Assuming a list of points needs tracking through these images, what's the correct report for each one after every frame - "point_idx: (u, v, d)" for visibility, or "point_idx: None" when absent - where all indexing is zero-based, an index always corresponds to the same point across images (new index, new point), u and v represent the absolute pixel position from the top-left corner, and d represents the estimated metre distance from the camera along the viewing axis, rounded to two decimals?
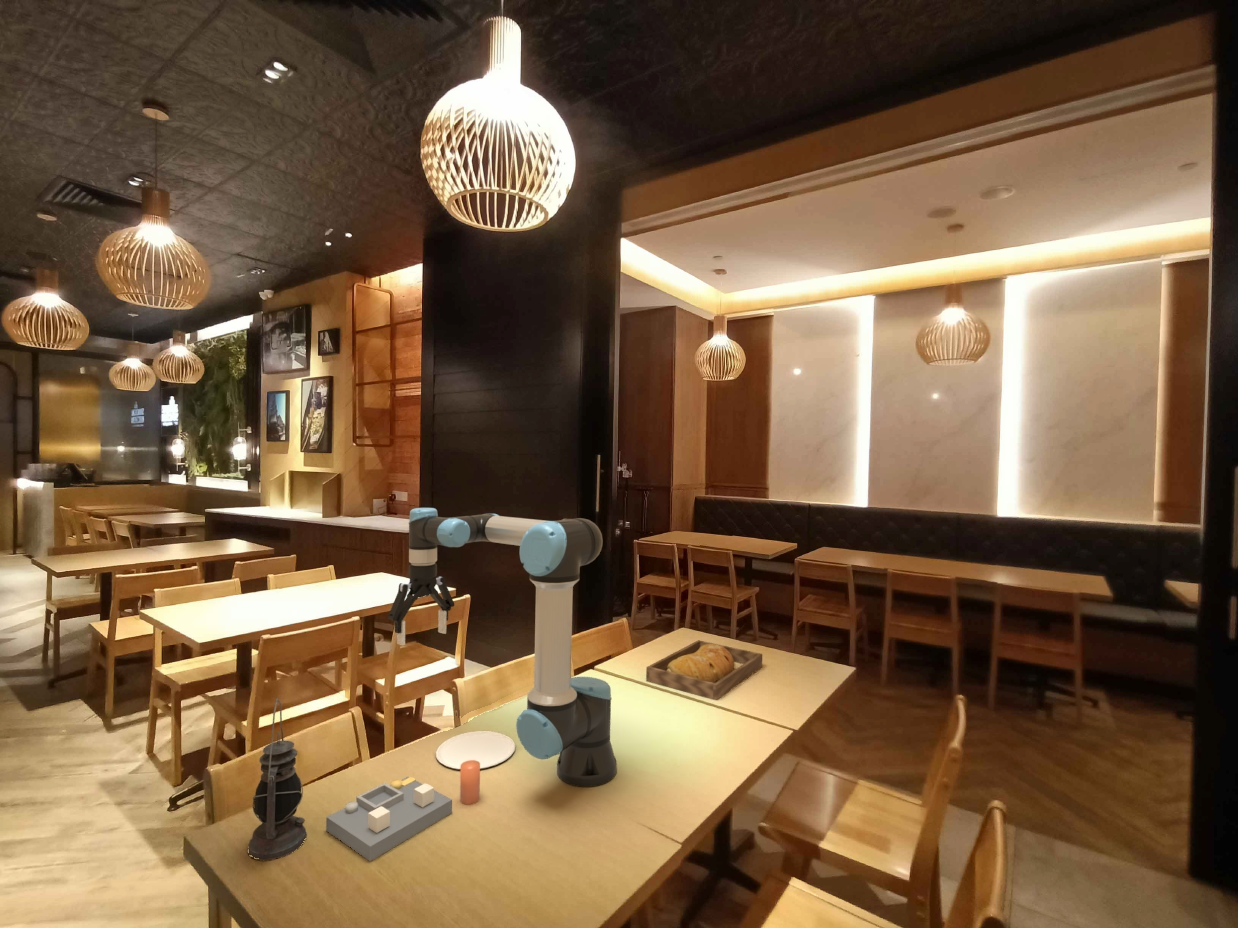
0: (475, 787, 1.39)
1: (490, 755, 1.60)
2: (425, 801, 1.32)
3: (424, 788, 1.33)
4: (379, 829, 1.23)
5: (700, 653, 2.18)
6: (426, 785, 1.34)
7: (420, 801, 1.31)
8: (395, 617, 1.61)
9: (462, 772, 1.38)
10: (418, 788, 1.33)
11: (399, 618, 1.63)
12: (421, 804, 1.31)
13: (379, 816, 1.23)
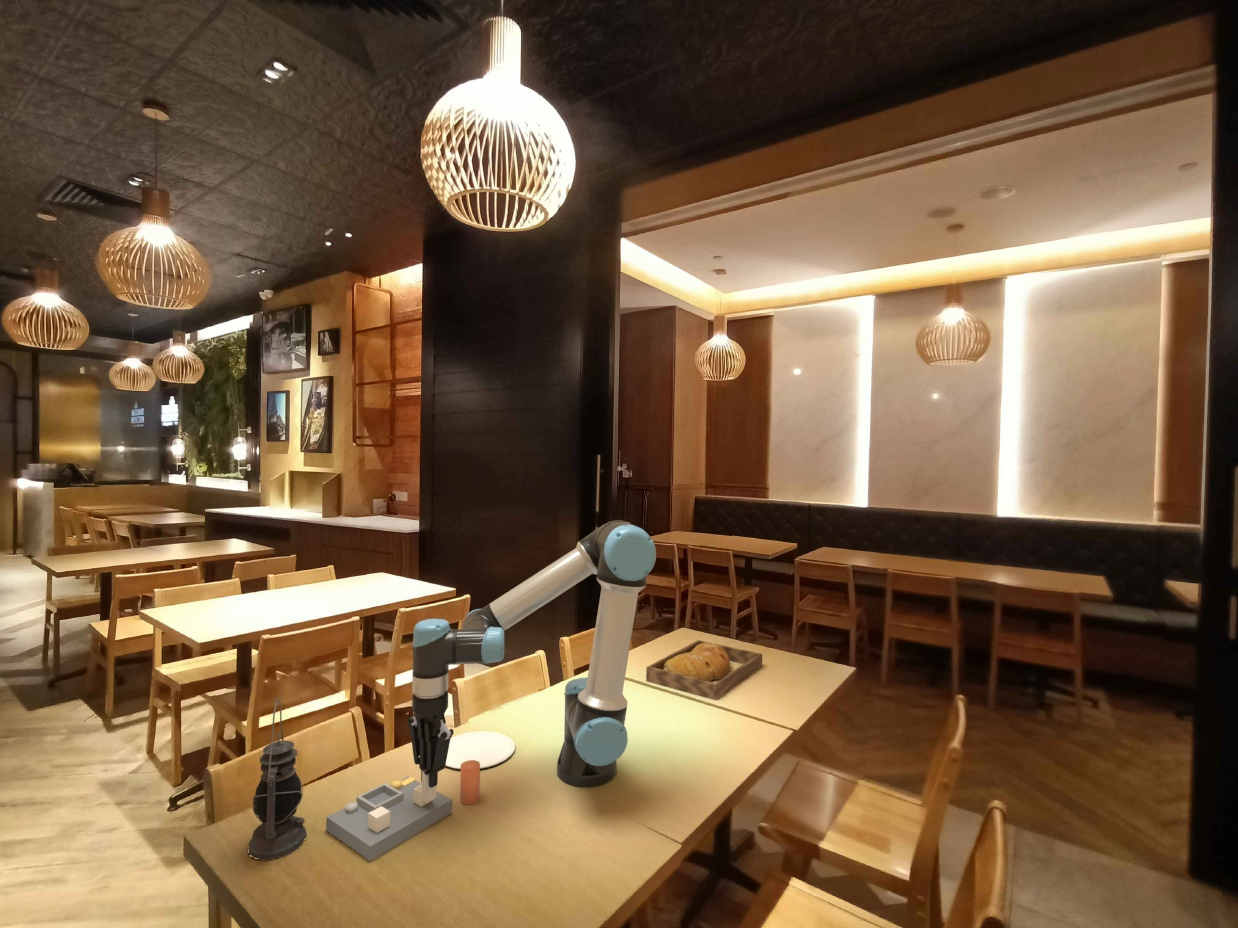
0: (475, 787, 1.39)
1: (490, 755, 1.60)
2: None
3: None
4: (379, 829, 1.23)
5: (696, 652, 2.20)
6: None
7: (419, 801, 1.32)
8: (415, 760, 1.33)
9: (462, 772, 1.38)
10: (417, 787, 1.33)
11: None
12: (420, 803, 1.31)
13: (379, 816, 1.23)
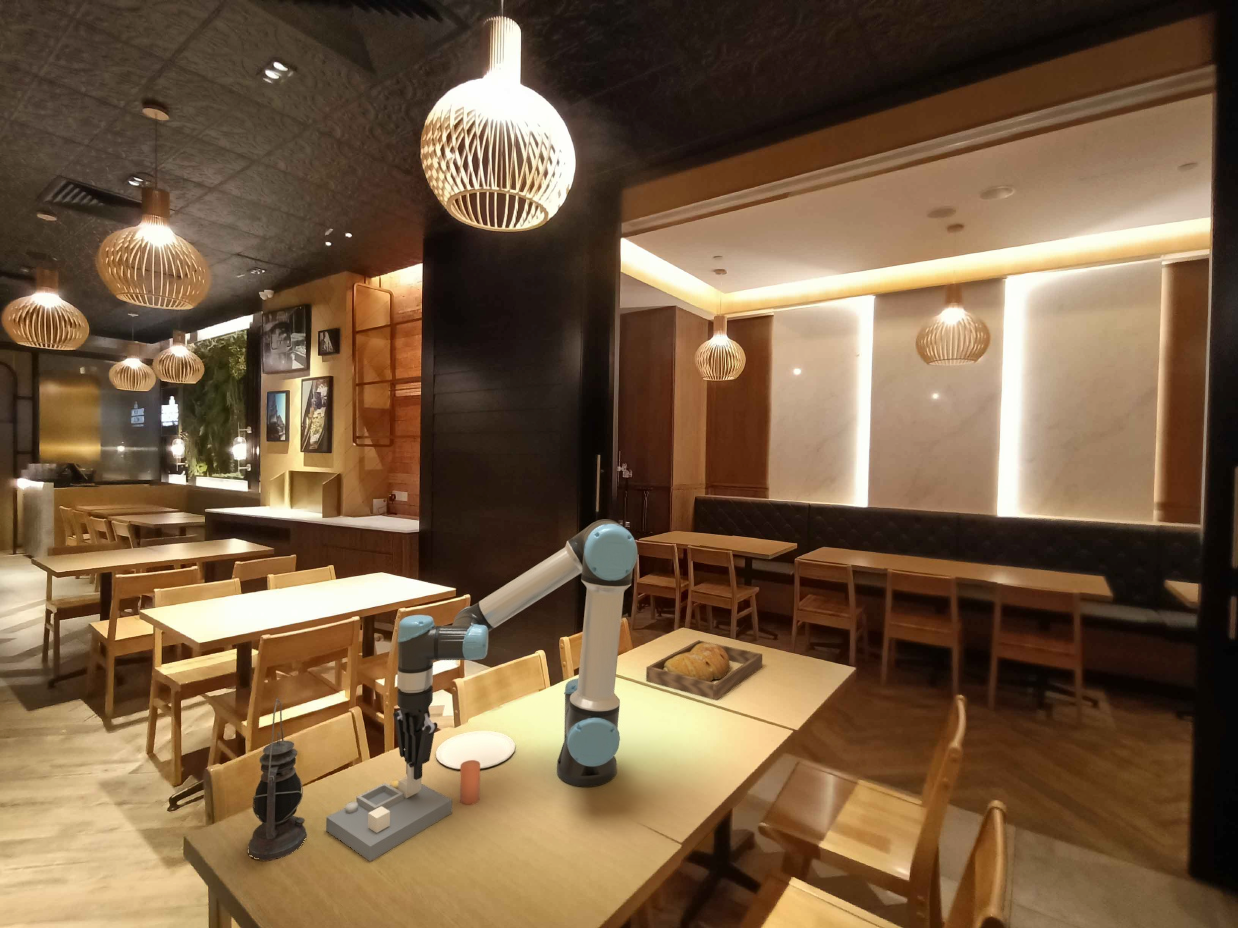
0: (475, 787, 1.39)
1: (490, 755, 1.60)
2: None
3: None
4: (379, 829, 1.23)
5: (696, 652, 2.20)
6: None
7: (404, 792, 1.35)
8: (401, 753, 1.36)
9: (462, 772, 1.38)
10: (402, 780, 1.36)
11: None
12: (405, 795, 1.35)
13: (379, 816, 1.23)
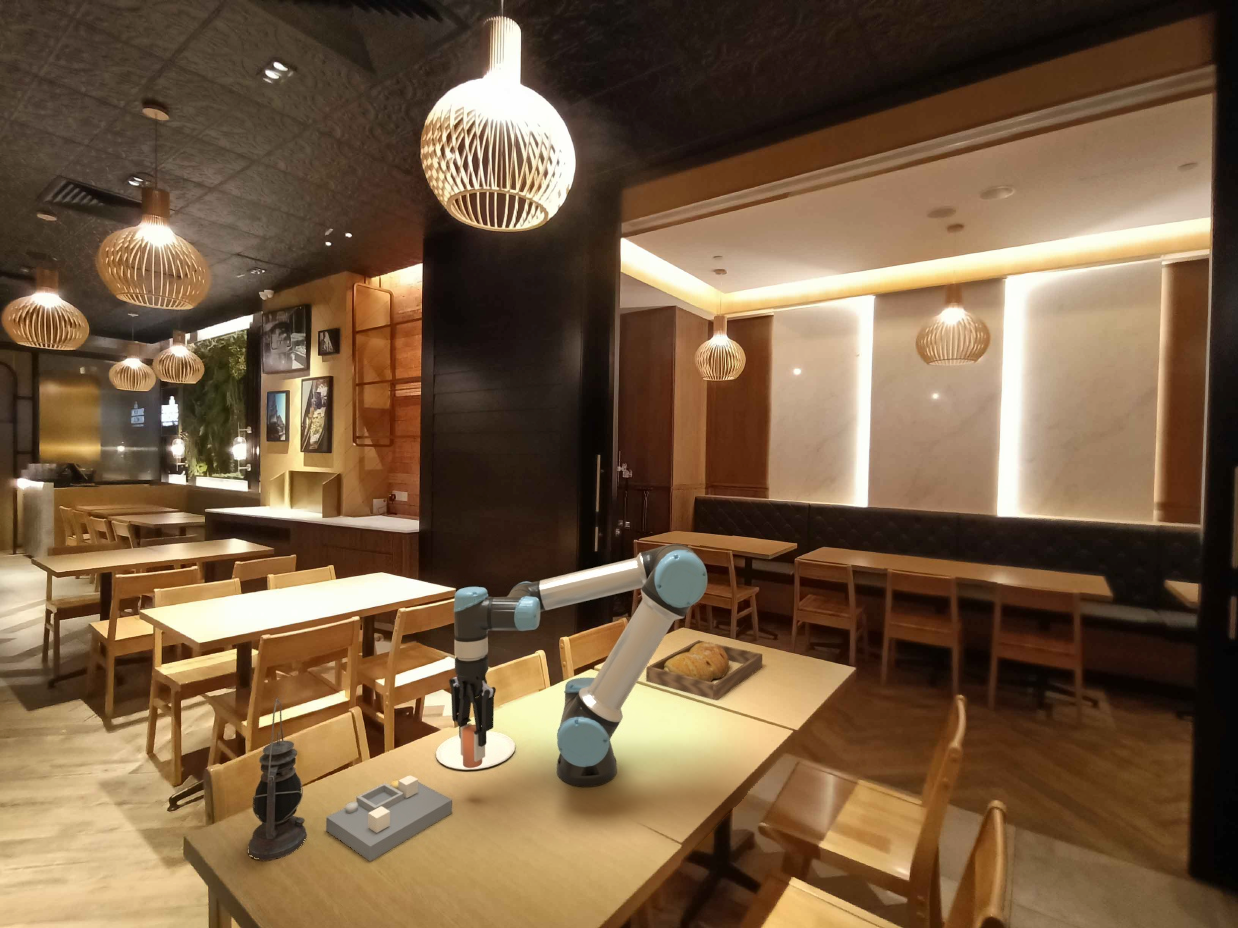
0: None
1: (490, 755, 1.60)
2: (409, 792, 1.35)
3: (408, 780, 1.36)
4: (379, 829, 1.23)
5: (696, 651, 2.20)
6: (410, 777, 1.38)
7: (404, 792, 1.35)
8: (453, 717, 1.42)
9: (465, 736, 1.38)
10: (402, 780, 1.36)
11: None
12: (405, 795, 1.35)
13: (379, 816, 1.23)
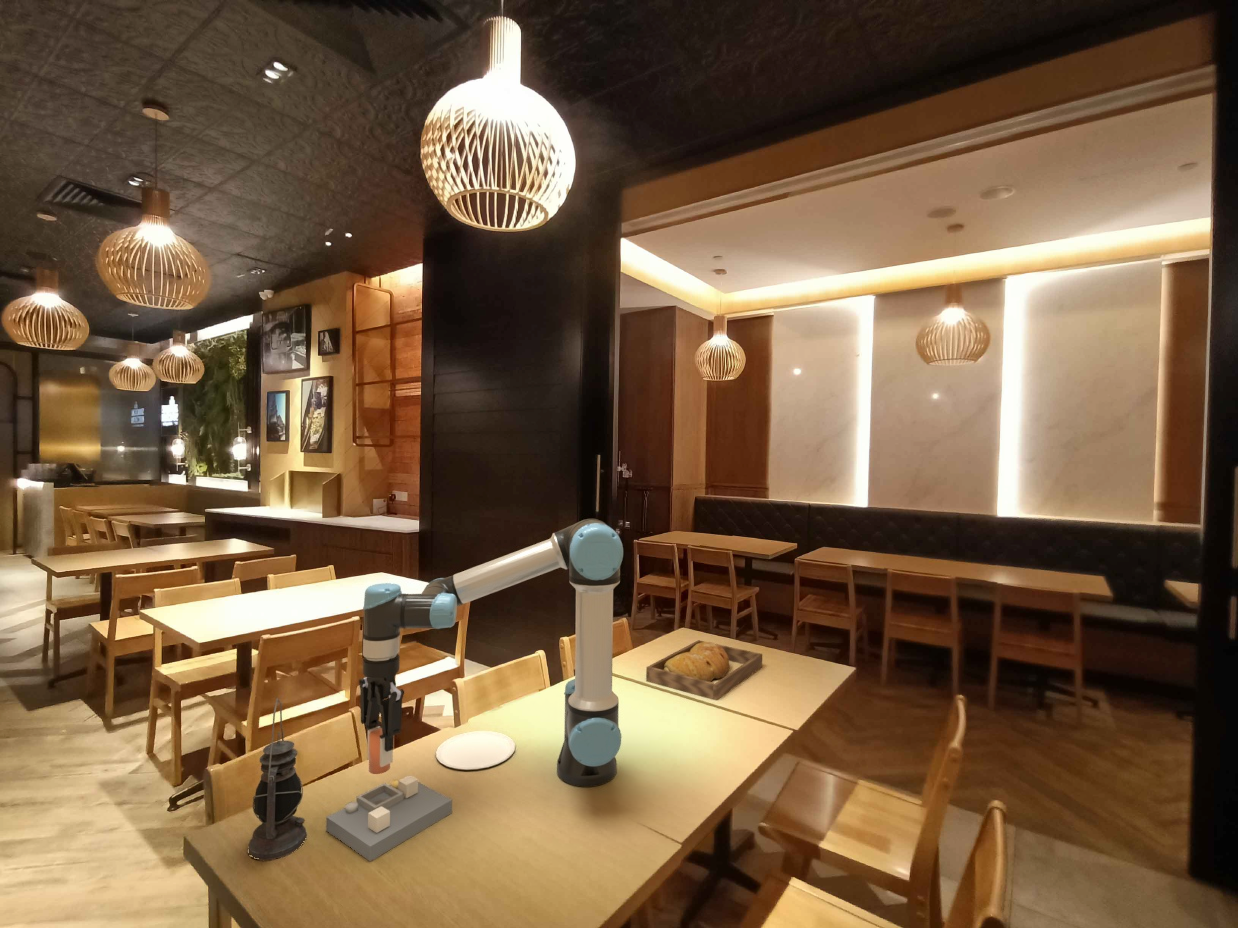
0: None
1: (490, 755, 1.60)
2: (409, 792, 1.35)
3: (408, 780, 1.36)
4: (379, 829, 1.23)
5: (696, 651, 2.20)
6: (410, 777, 1.38)
7: (404, 792, 1.35)
8: (362, 719, 1.35)
9: (371, 740, 1.31)
10: (402, 780, 1.36)
11: None
12: (405, 795, 1.35)
13: (379, 816, 1.23)
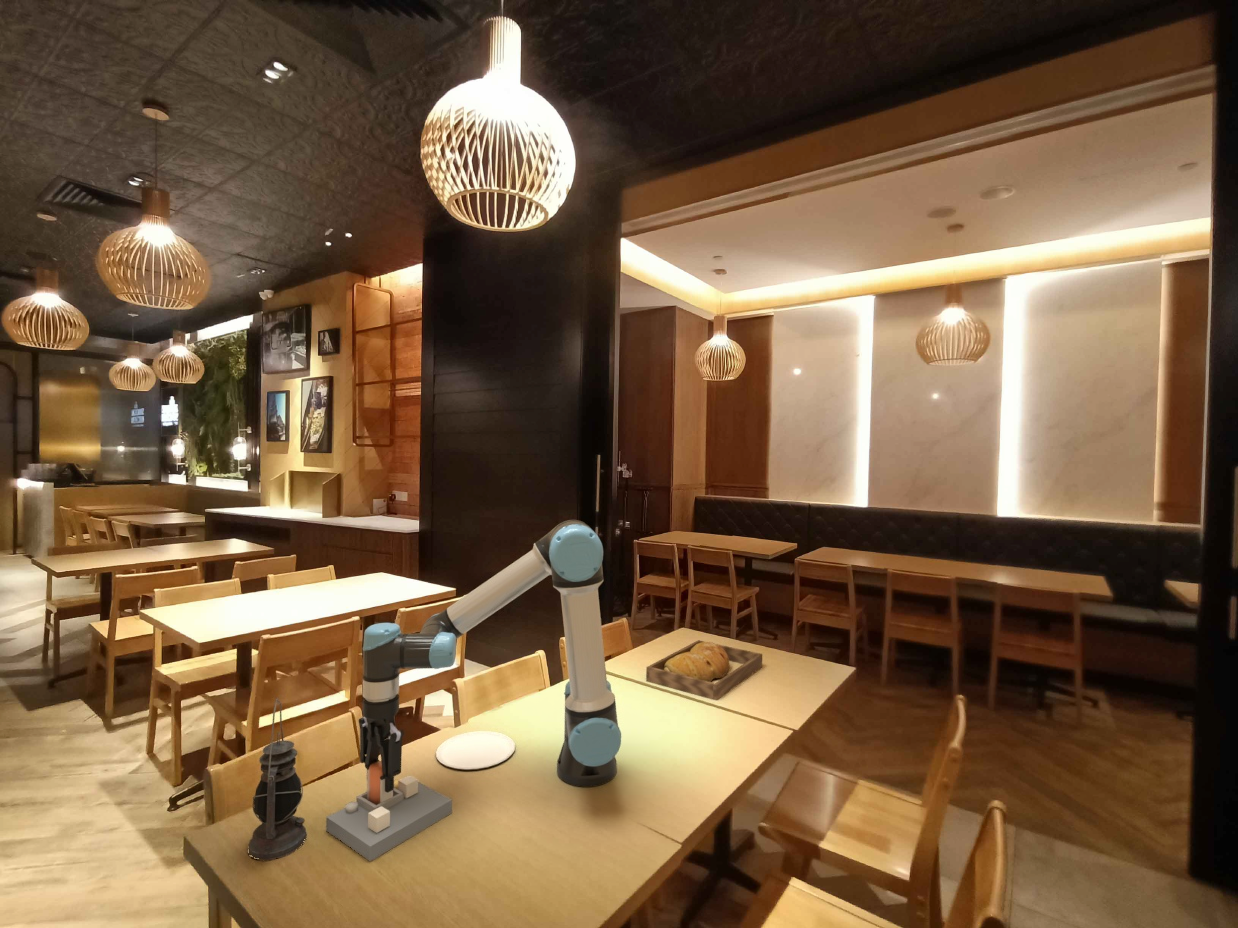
0: None
1: (490, 755, 1.60)
2: (409, 792, 1.35)
3: (408, 780, 1.36)
4: (379, 829, 1.23)
5: (697, 651, 2.20)
6: (410, 777, 1.38)
7: (404, 792, 1.35)
8: (361, 759, 1.35)
9: (371, 774, 1.31)
10: (402, 780, 1.36)
11: None
12: (405, 795, 1.35)
13: (379, 816, 1.23)
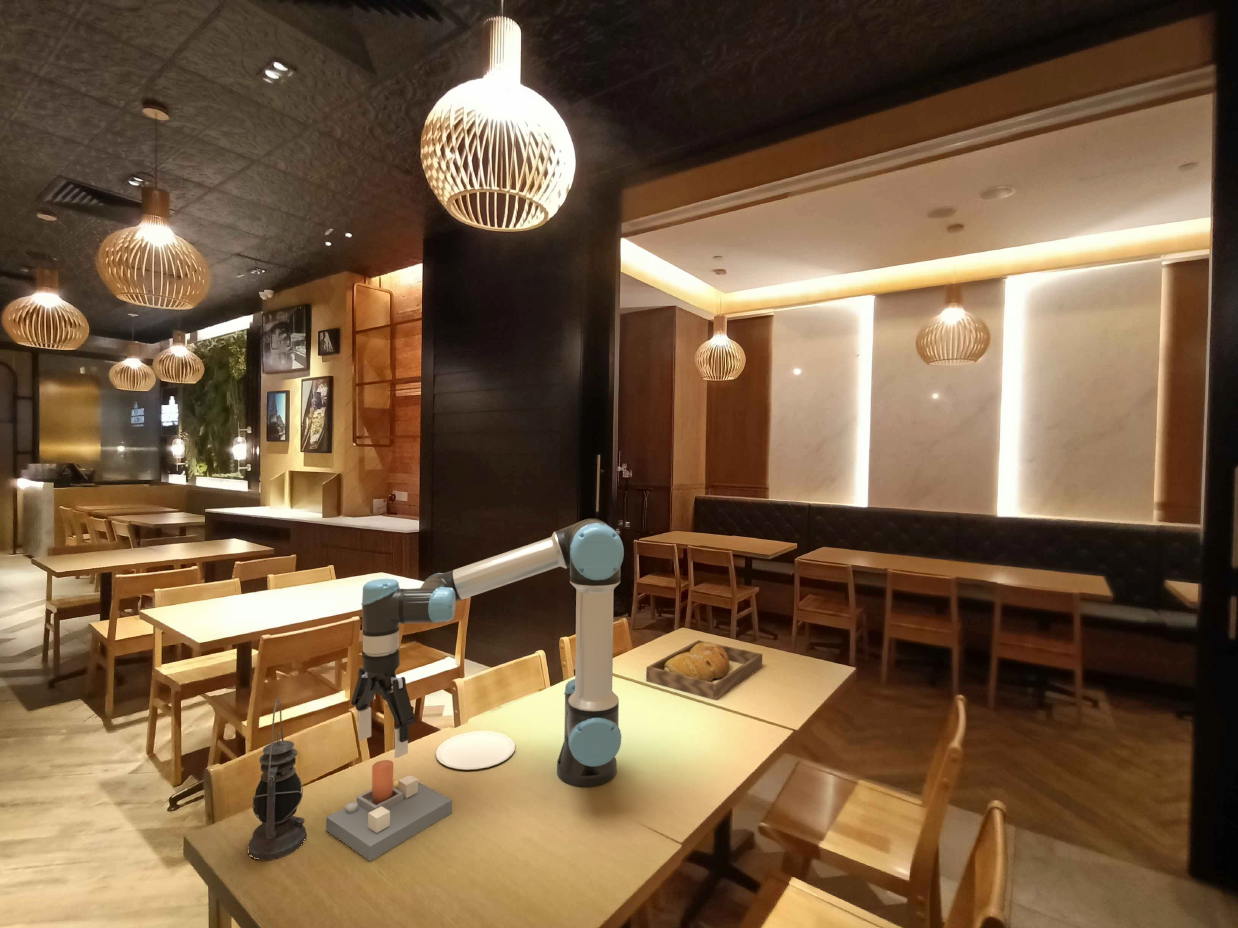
0: (387, 788, 1.32)
1: (490, 755, 1.60)
2: (409, 792, 1.35)
3: (408, 780, 1.36)
4: (379, 829, 1.23)
5: (697, 651, 2.20)
6: (410, 777, 1.38)
7: (404, 792, 1.35)
8: (352, 702, 1.37)
9: (373, 773, 1.32)
10: (402, 780, 1.36)
11: None
12: (405, 795, 1.35)
13: (379, 816, 1.23)
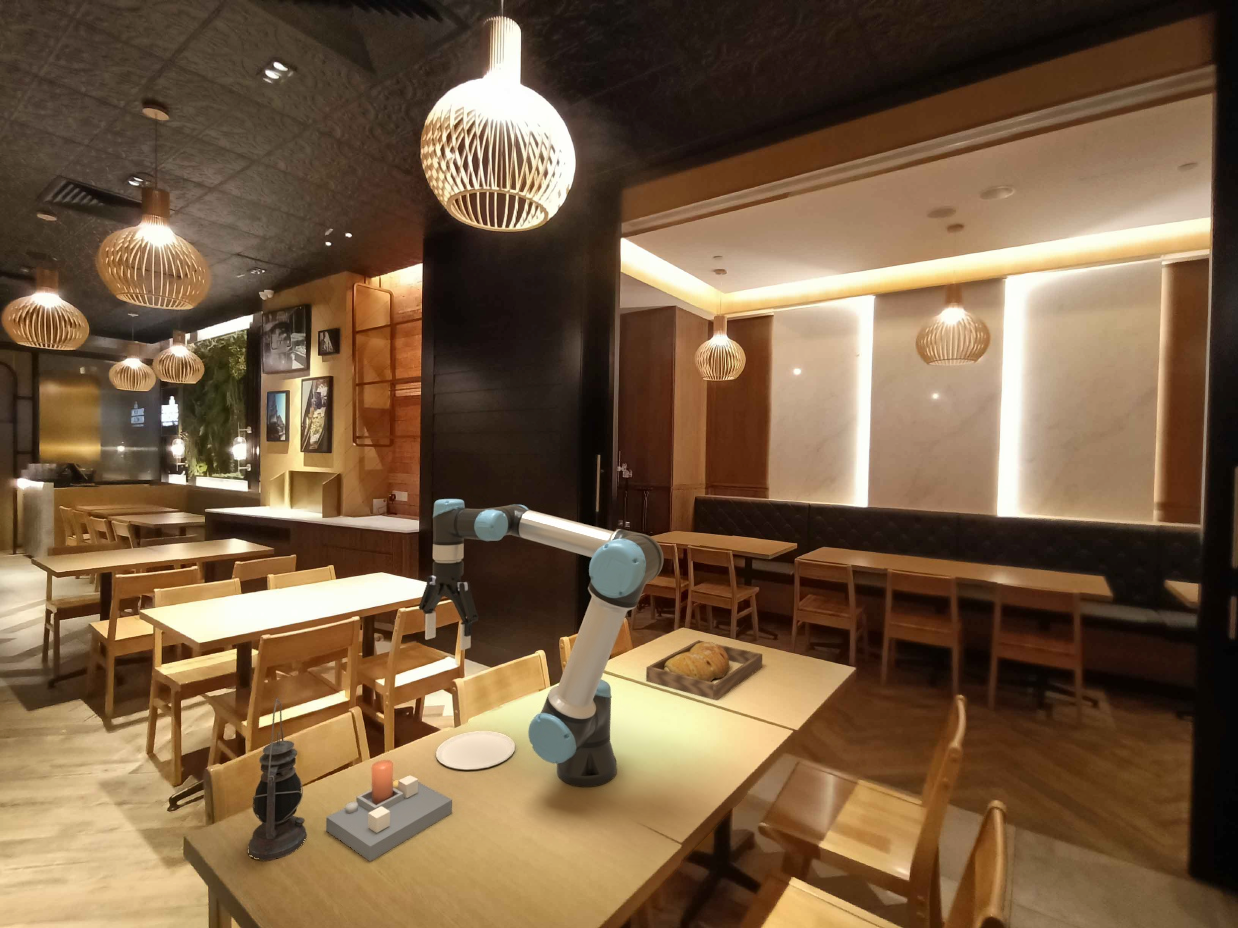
0: (386, 788, 1.32)
1: (490, 755, 1.60)
2: (409, 792, 1.35)
3: (408, 780, 1.36)
4: (379, 829, 1.23)
5: (697, 651, 2.20)
6: (410, 777, 1.38)
7: (404, 792, 1.35)
8: (420, 606, 1.58)
9: (373, 773, 1.32)
10: (402, 780, 1.36)
11: (424, 609, 1.57)
12: (405, 795, 1.35)
13: (379, 816, 1.23)
